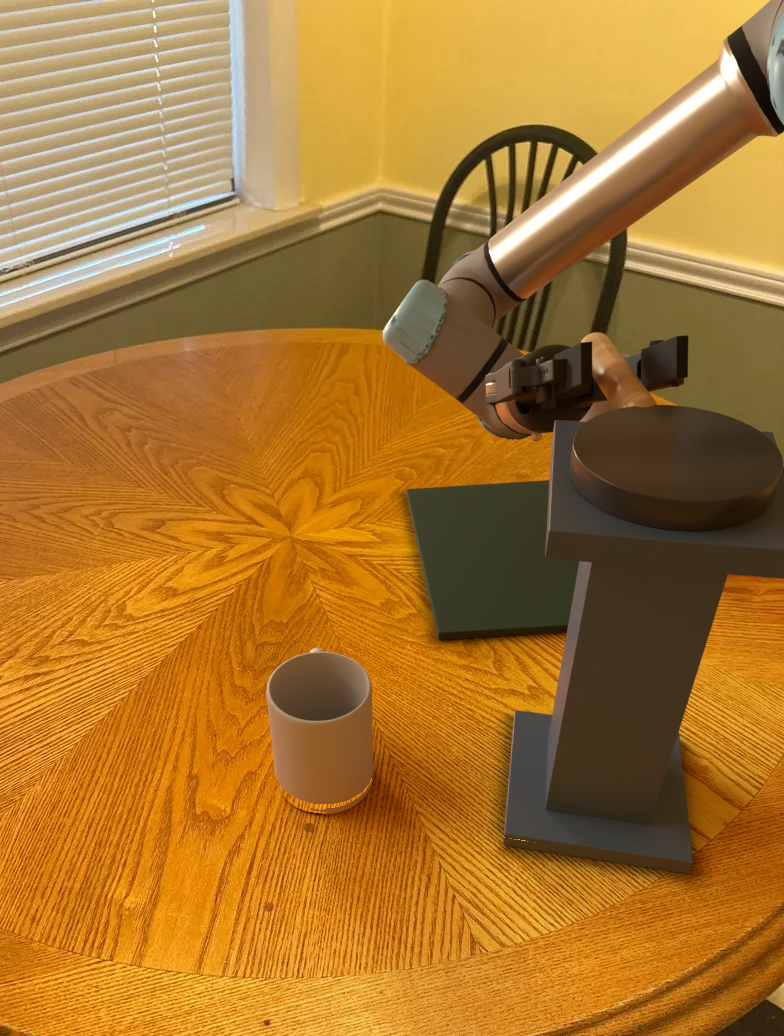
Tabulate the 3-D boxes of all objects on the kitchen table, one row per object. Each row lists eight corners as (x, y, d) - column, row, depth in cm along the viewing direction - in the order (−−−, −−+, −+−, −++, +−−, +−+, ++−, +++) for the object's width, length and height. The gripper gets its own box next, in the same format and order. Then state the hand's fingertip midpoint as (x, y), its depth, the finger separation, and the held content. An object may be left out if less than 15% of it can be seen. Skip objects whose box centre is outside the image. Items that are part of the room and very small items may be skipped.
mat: (406, 495, 112) (406, 488, 111) (549, 486, 111) (550, 479, 111) (438, 640, 90) (438, 632, 90) (615, 629, 90) (617, 622, 89)
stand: (675, 741, 78) (773, 431, 59) (689, 874, 68) (812, 552, 49) (513, 721, 81) (554, 419, 62) (502, 845, 71) (548, 530, 52)
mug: (378, 812, 74) (377, 720, 67) (276, 819, 74) (265, 727, 67) (365, 710, 83) (364, 620, 76) (274, 716, 83) (264, 626, 76)
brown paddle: (810, 524, 51) (823, 488, 49) (598, 538, 51) (605, 501, 49) (665, 352, 69) (672, 322, 68) (511, 362, 69) (514, 332, 68)
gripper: (645, 426, 83) (773, 408, 60) (444, 439, 83) (496, 426, 60) (645, 342, 82) (776, 291, 59) (441, 356, 82) (493, 310, 59)
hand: (634, 359), depth 60 cm, fingers open, 6 cm apart
